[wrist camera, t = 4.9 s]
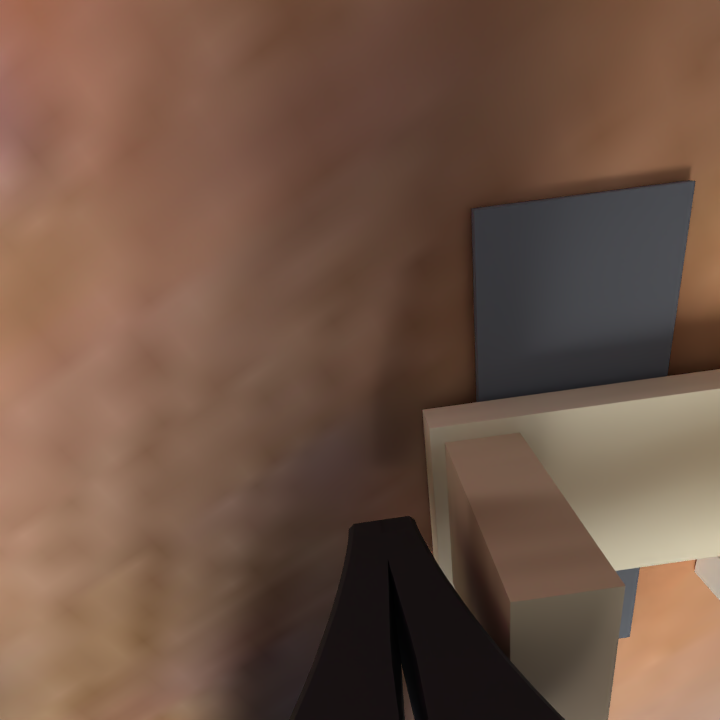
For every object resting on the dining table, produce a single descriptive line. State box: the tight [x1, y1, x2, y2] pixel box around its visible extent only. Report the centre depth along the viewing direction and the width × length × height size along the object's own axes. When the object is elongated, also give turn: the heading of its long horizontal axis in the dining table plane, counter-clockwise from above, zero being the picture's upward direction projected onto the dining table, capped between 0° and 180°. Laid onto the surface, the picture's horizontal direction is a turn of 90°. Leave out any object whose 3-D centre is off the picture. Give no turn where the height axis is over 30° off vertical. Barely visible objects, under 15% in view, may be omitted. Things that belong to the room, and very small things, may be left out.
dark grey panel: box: [471, 180, 695, 638], centre depth 12 cm, size 13×4×1 cm, turn 7°
